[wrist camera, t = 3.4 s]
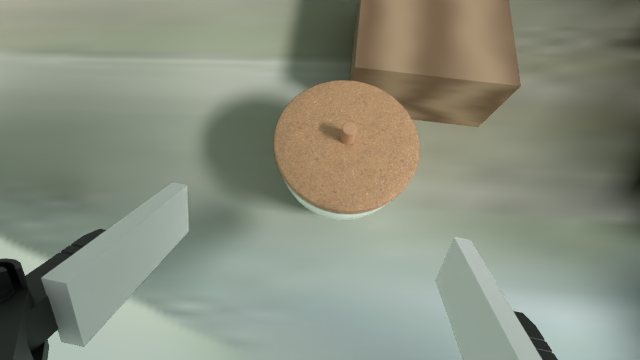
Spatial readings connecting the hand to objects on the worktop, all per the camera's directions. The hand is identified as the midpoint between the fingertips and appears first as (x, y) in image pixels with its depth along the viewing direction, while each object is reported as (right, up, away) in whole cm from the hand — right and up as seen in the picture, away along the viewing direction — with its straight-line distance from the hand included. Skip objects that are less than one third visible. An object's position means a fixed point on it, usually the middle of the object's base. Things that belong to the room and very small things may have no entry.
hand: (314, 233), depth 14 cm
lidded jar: (+2, +3, +14) cm, 15 cm away
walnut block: (+11, +15, +19) cm, 27 cm away
